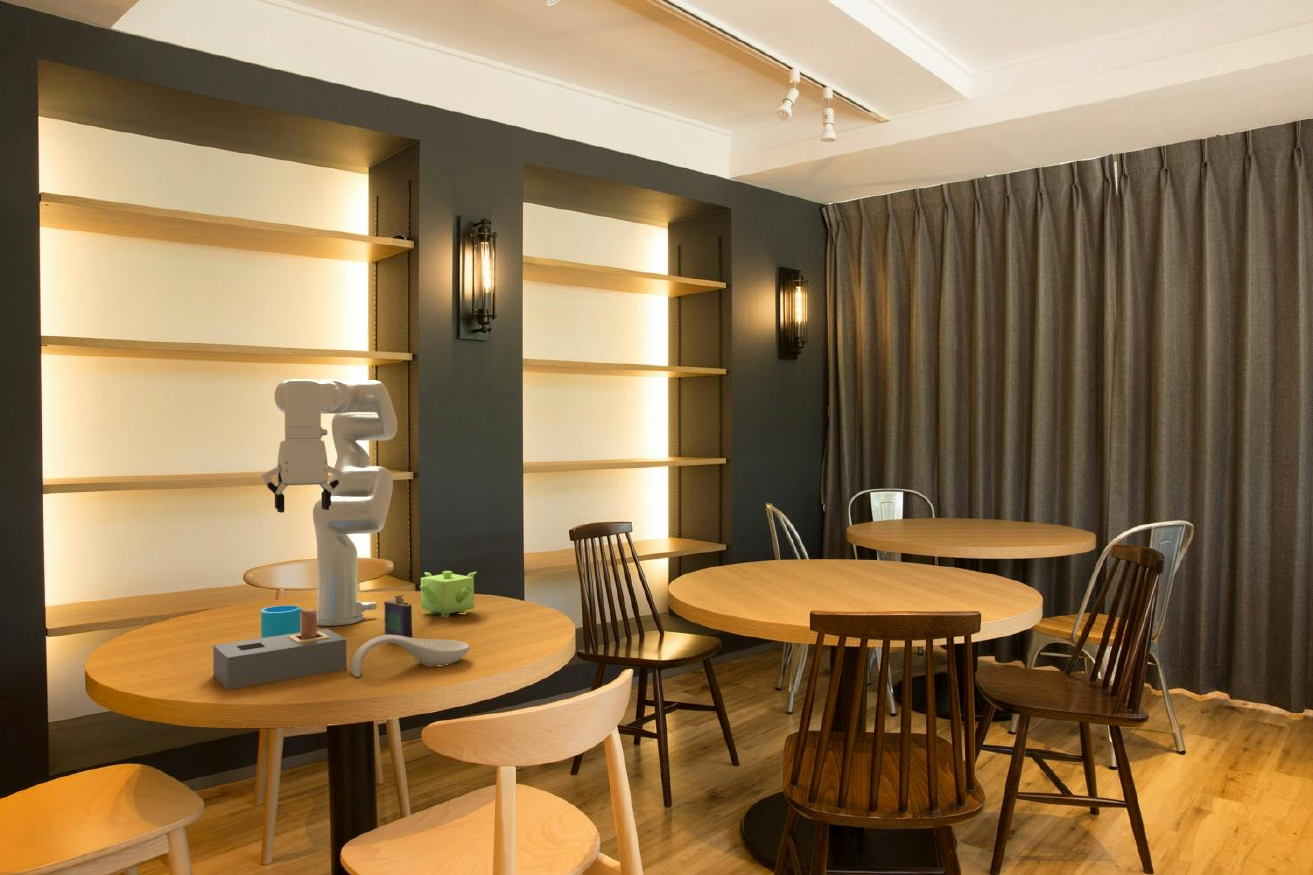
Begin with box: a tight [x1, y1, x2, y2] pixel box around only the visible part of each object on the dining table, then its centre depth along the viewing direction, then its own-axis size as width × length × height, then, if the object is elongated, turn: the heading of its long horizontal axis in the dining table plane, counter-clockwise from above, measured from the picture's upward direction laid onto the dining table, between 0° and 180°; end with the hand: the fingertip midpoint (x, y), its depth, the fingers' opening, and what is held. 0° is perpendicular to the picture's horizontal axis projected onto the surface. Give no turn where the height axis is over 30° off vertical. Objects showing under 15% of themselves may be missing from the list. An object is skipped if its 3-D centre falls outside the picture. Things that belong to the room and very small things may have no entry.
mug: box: [260, 604, 304, 638], centre depth 193 cm, size 12×8×8 cm
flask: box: [383, 594, 413, 638], centre depth 195 cm, size 9×3×11 cm, turn 50°
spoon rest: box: [350, 634, 470, 678], centre depth 174 cm, size 24×12×7 cm, turn 124°
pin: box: [300, 608, 318, 640], centre depth 174 cm, size 3×3×10 cm
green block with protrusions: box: [419, 570, 477, 618], centre depth 224 cm, size 15×14×11 cm
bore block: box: [212, 628, 348, 690], centre depth 170 cm, size 22×12×6 cm, turn 129°
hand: (303, 510), depth 191 cm, fingers open, 9 cm apart
